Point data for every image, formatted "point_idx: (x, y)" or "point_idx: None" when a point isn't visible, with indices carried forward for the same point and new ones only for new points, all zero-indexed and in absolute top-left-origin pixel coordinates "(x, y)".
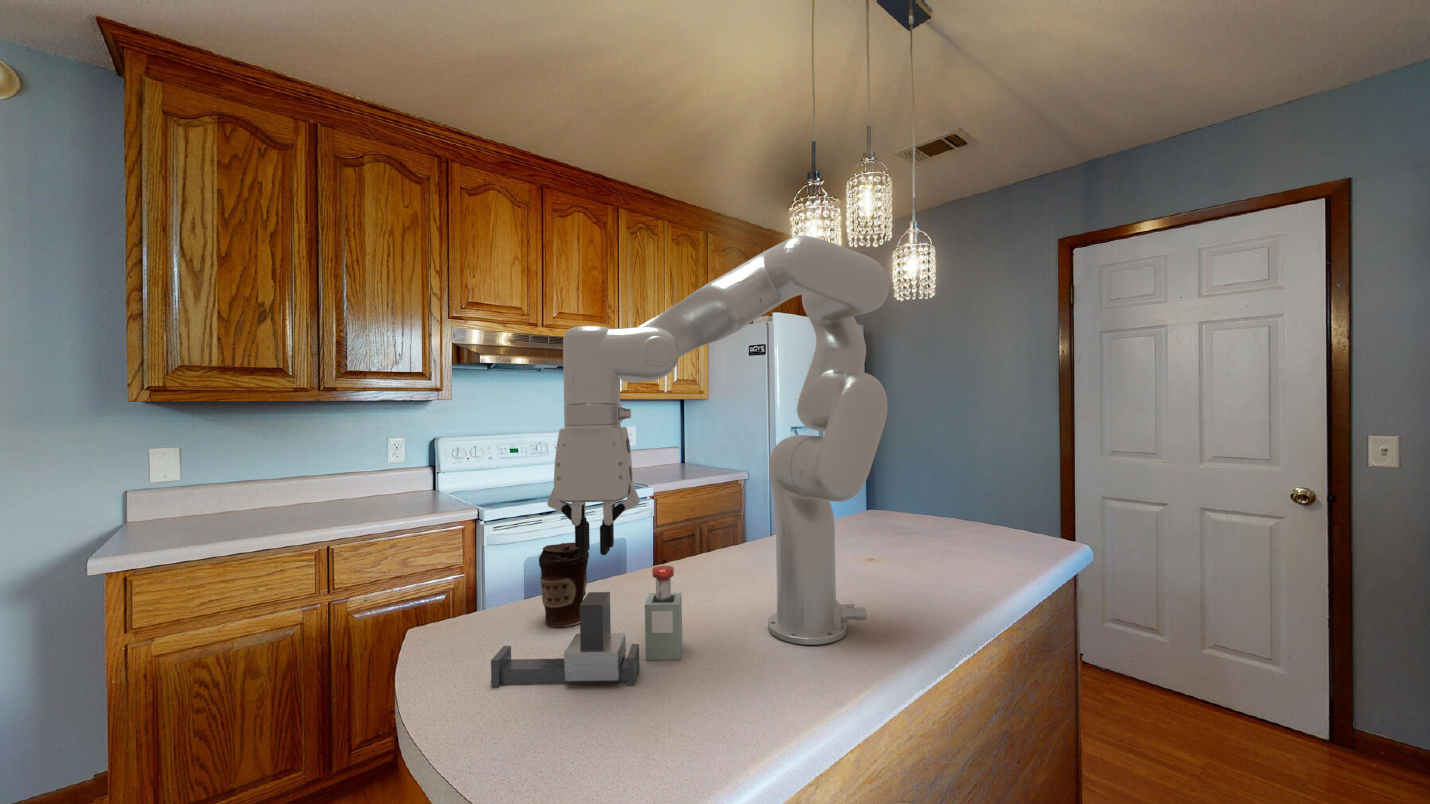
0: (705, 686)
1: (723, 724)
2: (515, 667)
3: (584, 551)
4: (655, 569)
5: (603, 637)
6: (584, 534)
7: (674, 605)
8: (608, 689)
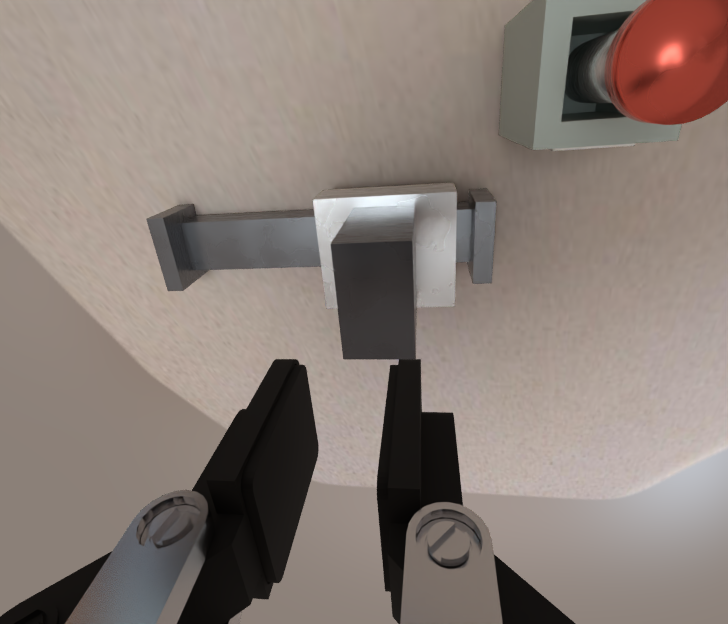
0: (645, 263)
1: (654, 384)
2: (217, 260)
3: (315, 460)
4: (638, 77)
5: (416, 306)
6: (292, 535)
7: (655, 140)
8: None
